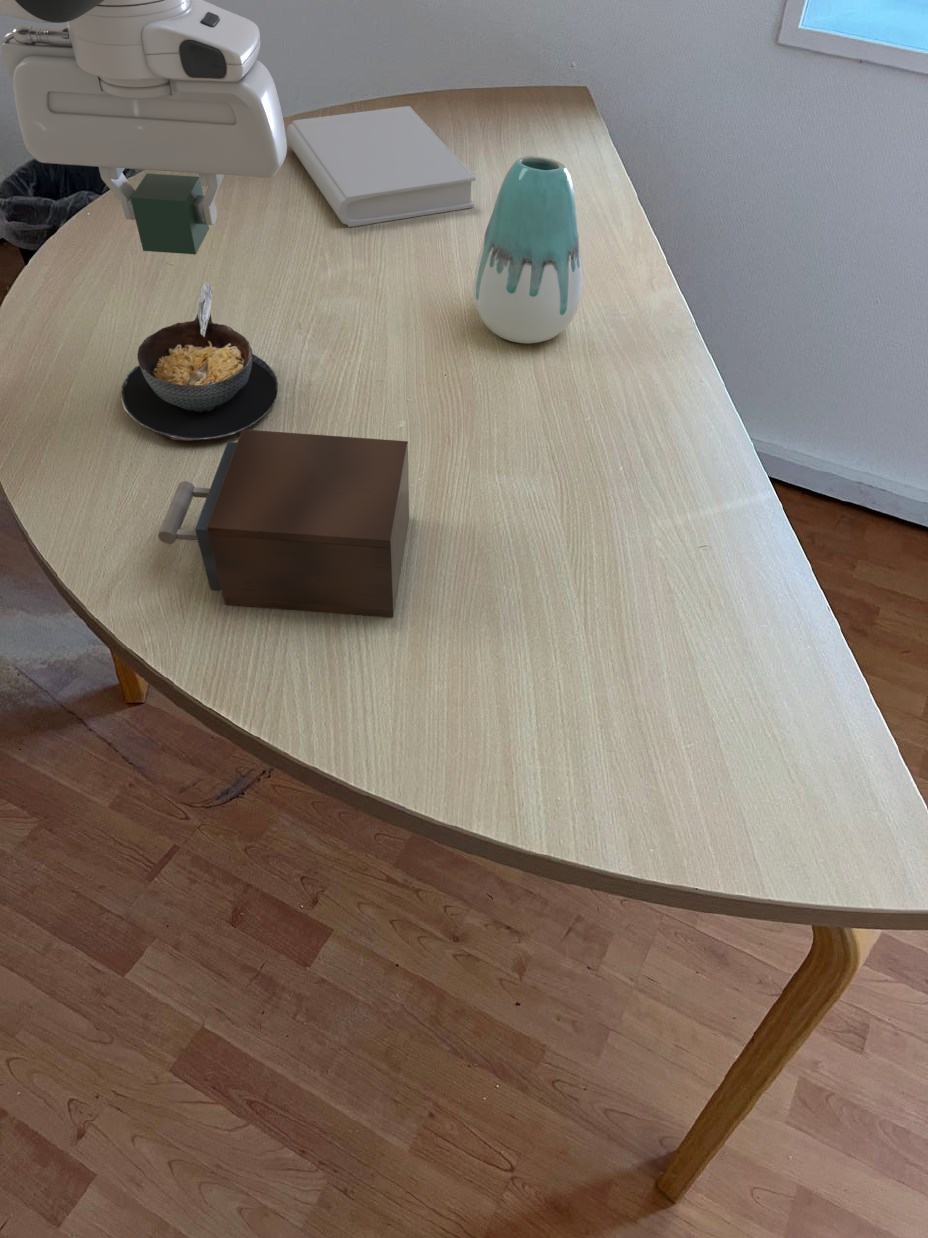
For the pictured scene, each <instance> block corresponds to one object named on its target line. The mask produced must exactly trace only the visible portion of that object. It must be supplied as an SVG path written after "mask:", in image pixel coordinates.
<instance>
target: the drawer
mask: <svg viewBox="0 0 928 1238" xmlns="http://www.w3.org/2000/svg"><path fill="white" fill-rule="evenodd" d="M237 442H238V441H227V442H226V445H225V447H224V451H223V453H222V455H221V458H220V461H219V464H218V466H217V469H216V472H215V473H214V477H213V480H212V482H211V485H210V488H209V487H196V486H195V485H194V484H193V483H191V482H190V481H187V480H184V481H183V480H182V481H180V482H179V483H178V485H177V488H176V490H175V492H174V494H173V498H172V499H171V501H170V505H169V507H168V510H167V513H166V514H165V517H164V519H163V522H162V524H161V525H160V529H159V531H158V534H157V538H158V540H160V542H162V543H164V544H166V545H167V544H168V545H172V544H175V543H176V541H177V540H181V541H182V540H184V541H194V542H195V541H197V544H198V547H199V552H200V554H201V555H200V556H201V558H202V564H203V567H204V571H205V575H206V579H207V583H208V586H209V590H210V591H214V592H215V591H216V592H217V591H218V592H222V589H221V585H220V581H219V577H218V573H217V569H216V565H215V561H214V556H213V552H212V548H211V544H210V540H209V536H208V531H207V525H208V522H209V519H210V516H211V514H212V511H213V508H214V505H215V503H216V500H217V497H218V494H219V492H220V489H221V486H222V483H223V481H224V478H225V475H226V472H227V470H228V467H229V464H230V462H231V459H232V456H233V453H234V451H235V448H236V445H237ZM193 498H205V501H204V503H203V506H202V509H201V512H200V514H199V517H198V520H197V522H196V525H195V528H194V529H183V528H182V525H183V524H184V521H185V518H186V516H187V513H188V510H189V507H190V505H191V503H192V500H193Z"/></svg>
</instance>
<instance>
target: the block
mask: <svg viewBox="0 0 928 1238" xmlns="http://www.w3.org/2000/svg"><path fill="white" fill-rule="evenodd" d="M202 187H203V186H202V185H201V183H200V177H199V176H192V175H179V174H162V173H150V172H149V173H145V175H144V177H143V179H142V180H141V181H140V182H139V184H138V186H137V187H136V188H135V189H134V190H135V192H134V193H133V195H132V196H131V198H130V199H131V203H132V207H133V211H134V215H135V219H136V220H135V223H136V227H137V231H138V236H139V240H140V243H141V244H140V245H141V248H142V251H143V252H153V253H155V252H156V253H167V254H184V255H197V254H198V251H199V249H200V247H201V246H202V244H203V242H204V240H205V238H206V236H207V234H208V233H209V230H210V225H205V224H196V222H195V218H194V217H195V215H194V213H193V207H192V204H193V203H194V201H195V199H196V197H197V196H198V195H203V196H204V193H203V188H202Z"/></svg>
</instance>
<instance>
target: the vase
mask: <svg viewBox="0 0 928 1238" xmlns="http://www.w3.org/2000/svg"><path fill="white" fill-rule="evenodd" d="M495 199H496V200H495V203H494V206H493V209H492V213H491V216H490V218H489V221H488V223H487V226H486V229H485V232H484V236H483V239H482V242H481V243H482V244H481V247H480V251H479V254H478V256H477V261H476V265H475V269H474V274H473V275H474V276H473V283H472V284H473V285H472V289H473V300H474V305H475V308H476V311H477V314H478V315H479V317H480V319H481V321H482V322H483V324H484V325H485V326H486V328H488V330H489V331H491V332H492V333H493V334H495V335H496V336H497V337H499V338H501V339H503V340H506V341H509V342H512V343H517V344H539V343H542V342H545V341H549V340H551V339H553V338H556V337H557V336H558V335H560V334H561V333H562V332H563V331H564V330H566V329H567V328H568V326H569V325H570V324H571V323H572V321H574V320H573V319H574V318H575V317H576V315H577V312H578V310H579V307H580V304H581V300H582V297H583V296H582V295H583V287H584V286H583V282H584V281H583V280H584V276H583V274H584V273H583V272H584V271H583V259H582V252H581V248H580V236H579V235H580V234H579V229H578V222H577V208H576V197H575V190H574V183H573V180H572V177H571V174H570V172H569V170H568V168H567V167H566V166H565V164H564V163H562V162H561V161H558V160H556V159H552V158H550V157H549V158H548V157H544V156H536V155H526V156H522V157H519V158H518V159H516V160H515V161H514V163H513V164H512V165H511V166H510V168H509V169H508V171H507V172H506V175H505V176H504V178H503V180H502V183H501V185H500V188H499V190H498V193H497V196H496V198H495Z"/></svg>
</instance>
